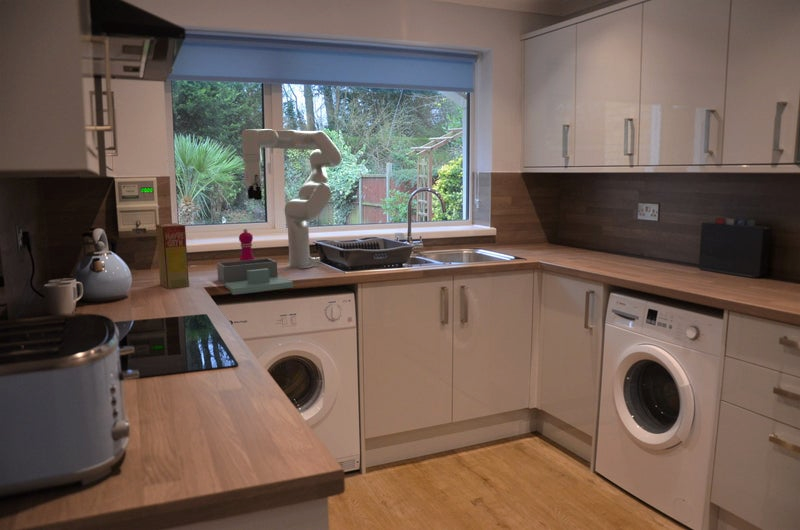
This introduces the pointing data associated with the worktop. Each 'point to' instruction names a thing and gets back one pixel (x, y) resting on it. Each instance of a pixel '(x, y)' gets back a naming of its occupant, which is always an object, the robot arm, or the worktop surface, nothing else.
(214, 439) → the worktop surface
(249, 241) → the pepper mill
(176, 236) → the food packaging
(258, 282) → the lid
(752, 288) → the worktop surface
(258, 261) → the tub
